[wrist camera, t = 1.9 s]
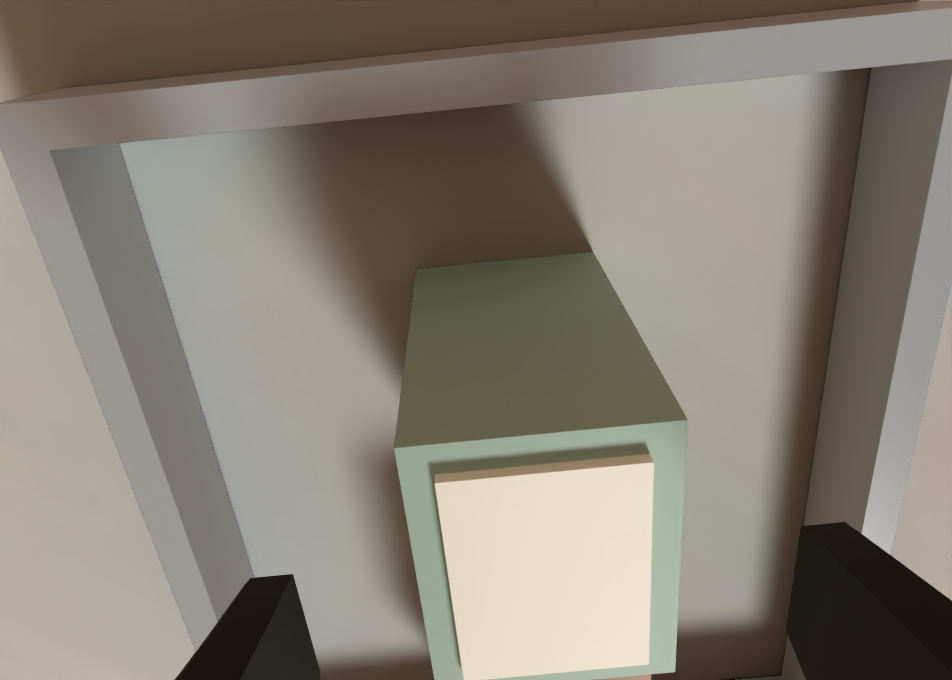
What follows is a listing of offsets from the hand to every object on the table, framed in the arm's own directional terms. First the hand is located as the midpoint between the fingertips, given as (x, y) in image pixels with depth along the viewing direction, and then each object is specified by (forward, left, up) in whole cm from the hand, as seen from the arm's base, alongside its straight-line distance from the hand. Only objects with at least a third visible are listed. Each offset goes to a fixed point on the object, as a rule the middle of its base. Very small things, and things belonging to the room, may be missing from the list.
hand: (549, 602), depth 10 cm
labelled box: (0, 0, -8) cm, 8 cm away
